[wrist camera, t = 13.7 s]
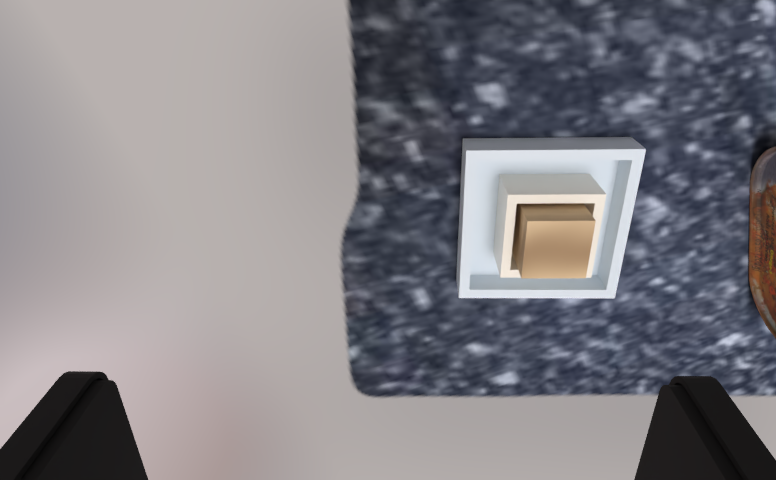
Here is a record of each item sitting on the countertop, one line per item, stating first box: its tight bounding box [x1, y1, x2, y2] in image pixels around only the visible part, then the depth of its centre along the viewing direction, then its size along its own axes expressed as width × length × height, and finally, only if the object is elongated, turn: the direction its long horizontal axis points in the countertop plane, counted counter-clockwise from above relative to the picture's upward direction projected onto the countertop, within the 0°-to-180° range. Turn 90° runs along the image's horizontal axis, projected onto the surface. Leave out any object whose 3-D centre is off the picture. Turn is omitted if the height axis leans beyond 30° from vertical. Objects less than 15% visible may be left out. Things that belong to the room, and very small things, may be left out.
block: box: [512, 203, 596, 278], centre depth 35 cm, size 4×4×4 cm
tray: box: [456, 137, 646, 298], centre depth 37 cm, size 11×11×2 cm
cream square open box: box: [493, 174, 607, 278], centre depth 36 cm, size 6×6×4 cm
